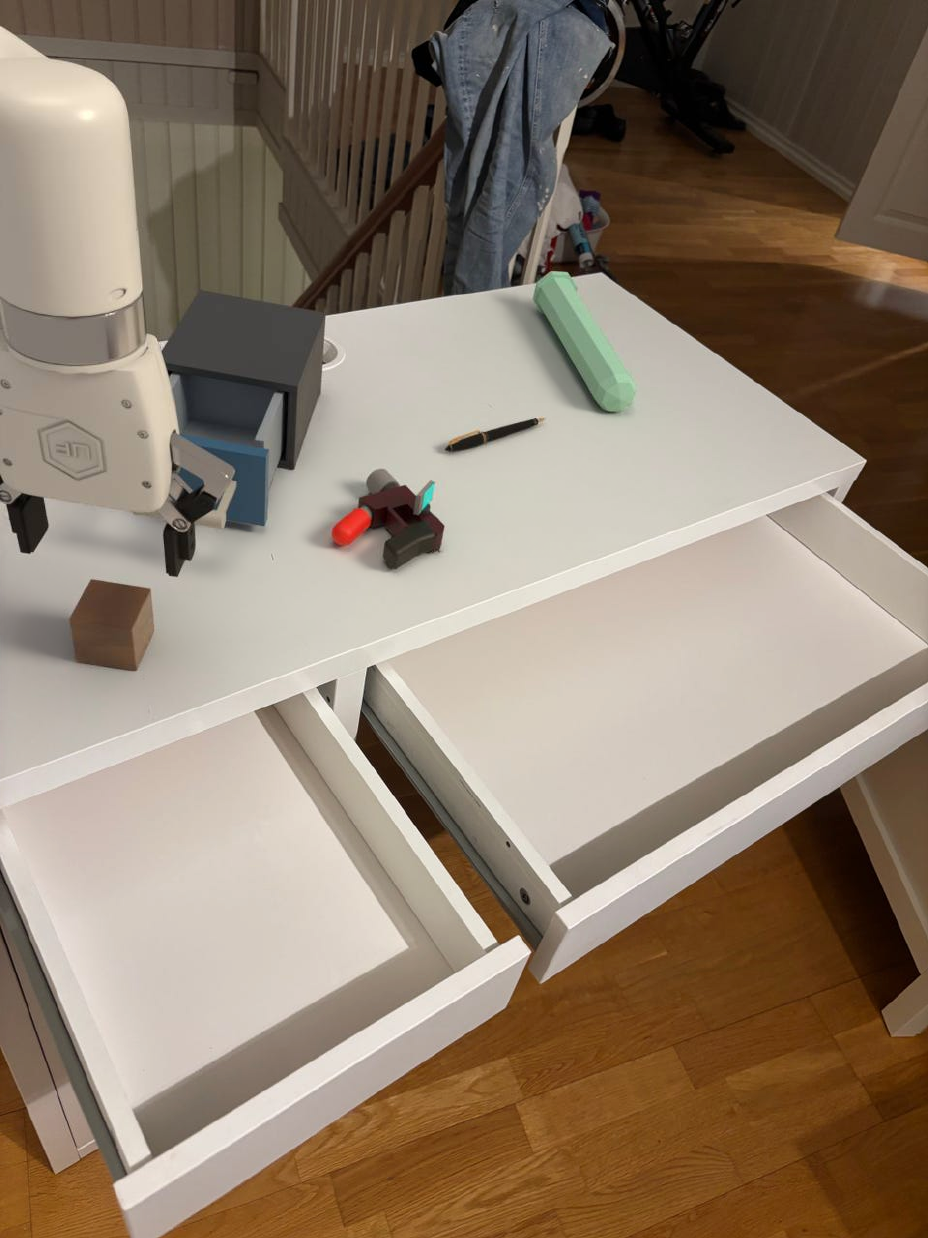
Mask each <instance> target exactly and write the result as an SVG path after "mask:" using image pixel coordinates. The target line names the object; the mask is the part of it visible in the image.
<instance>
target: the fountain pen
mask: <svg viewBox="0 0 928 1238" xmlns="http://www.w3.org/2000/svg"><path fill="white" fill-rule="evenodd" d="M546 419H547V417H539V418H536V417H534V418H530V419H525V420H522V421H519V422H514V423H511V424H507V425H503V426H500V427H496V428H493V429H489V430H487V431H480V430H479V429H477V430H474V431H471V432H469V433H466V434H463V435H461V436H457V437H455V438H453V439H451V440H450V441H449V442H448V445H446V447H445V449H444V451H447V452H451V453H452V452H459V451H464V450H467V449H472V448H475V447H479V446H482V445H486V444H487V443H489V442H492V441H495V440H498V439H502V438H505V437H507V436H511V435H513V434H516V433H519V432H521V431H525V430H527V429H530V428H533V427H535V426H538V425H539V423H542V422H544V421H545V420H546Z"/></svg>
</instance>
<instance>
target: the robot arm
mask: <svg viewBox="0 0 928 1238" xmlns="http://www.w3.org/2000/svg"><path fill="white" fill-rule="evenodd" d="M133 165H134V164H133V154H132V141H131V128H130V119H129V113H128V109H127V105H126V101H125V99H124V97H123V95H122V93H121V91H120V90H119V88H118V87H117V86H116V85H115V83H113V81H111V80H110V79H109V78H108V77H106V76H105V75H104V74H103V73H100V72H99V71H97V70H94V69H92V68H90V67H88V66H84V65H81V64H78V63H74V62H71V61H66V60H62V59H56V58H49V57H47V56H46V55H44V54H43V53H42V52H39V50H37V49H35V48H34V47H32V46H31V45H29V44H28V43H27V42H25V41H24V40H23V39H21V38H19V37H18V36H16V34H14V33H13V32H11V31H9V30H8V29H6V28H5V27H3V26H1V25H0V503H1V504H5V506H6V510H7V516H8V520H9V524H10V528H11V533H13V534H16V538H17V539H16V540H17V543H18V547H19V552H20V553H21V554H27V555H30V554H31V553H34V552H35V551H36V549H37V547H38V546H39V545H40V542H42V540H43V538H44V536H45V535H46V533H47V532H48V530H49V528H50V526H49V525H50V524H49V519H48V518H49V517H48V512H47V508H46V503H45V499H50V500H51V499H52V500H57V501H63V502H69V503H75V504H82V505H87V506H88V505H89V506H93V507H100V508H106V509H113V510H119V511H125V512H133V513H134V512H152V511H157V512H158V513H159V514H160V515H161V516H162V517H163V518H164V519H163V520H164V521H165V522H166V524H165V526H164V528H163V531H162V539H163V540H162V541H163V551H164V552H163V553H164V563H165V573H166V574H168V576H169V577H172V578H173V577H174V578H178V577H179V575H180V572H181V570H182V569H183V566H184V563H185V561H188V562H191V561H192V560H193V557H194V556H195V552H196V541H197V539H196V526H195V521H197V520H198V519H200V518H201V517H203V516H204V515H206V514H208V513H209V512H211V511H212V510H213V509H214V506H215V505H216V503H217V502H218V500H219V499H220V498H221V497H222V495H223V494H224V492H225V491H226V489H227V488H228V486H229V485H230V482H231V480H232V478H233V475H234V473H235V470H234V468H233V467H232V466H231V465H230V464H228V463H226V462H225V461H223V460H221V459H220V458H218V457H216V456H214V455H213V454H211V453H209V452H208V451H206V450H204V449H203V448H201V447H199V446H197V445H196V444H194V443H192V442H191V441H189V440H187V439H186V438H184V437H182V436H180V435H179V428H178V421H177V415H176V408H175V403H174V398H173V393H172V388H171V384H170V380H169V376H168V372H167V369H166V365H165V362H164V359H163V355H162V352H161V351H162V349H161V347H160V343H159V341H158V339H157V337H156V336H155V335H153V334H150V333H148V331H147V320H146V308H145V297H144V296H145V295H144V285H143V274H142V273H143V272H142V263H141V262H142V261H141V260H142V259H141V250H140V238H139V236H140V235H139V224H138V216H137V213H138V212H137V201H136V189H135V180H134V179H135V177H134V166H133ZM181 467H182V468H183V469H185V470H187V471H189V472H190V473H192V474H194V475H195V476H197V477H199V478H201V479H202V480H203V482H204V484H203V485H201V486H200V487H198V488H197V489H195V490H194V491H193V490H192V489H191V488H190V487H189V486H188V485H187V484H186V483H185V482H184V481H183V480H182V478H181V477H180V476H179V475H178V473H179V471H180V468H181ZM169 494H170V495H171V496H172V497H173V498H174V499H175V500H176V501H177V502H175V501H174V500H173V499H172V498H171V497H170V496H169Z"/></svg>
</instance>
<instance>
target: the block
mask: <svg viewBox="0 0 928 1238" xmlns="http://www.w3.org/2000/svg"><path fill="white" fill-rule="evenodd" d="M68 622H69V627H70V633H71V638H72V645H73V650H74V656H75V661H76V663H83V664H89V665H94V666H102V667H108V668H114V669H120V670H127V671H132V672H133V671H134V672H137V670H138V668H139V666H140V665H141V662H142V659H143V657H144V655H145V653H146V650H147V648H148V646H149V643H150V641H151V639H152V637H153V635H154V632H155V624H154V611H153V600H152V589H151V588H149V587H143V586H137V585H131V584H124V583H119V582H113V581H106V580H100V579H94V578H91V579H90V580H89V582H88V584H87V585H86V587H85V589H84V591H83V593H82V595H81V596H80V598H79V600H78V602H77V603H76V605H75V608H74V609H73V611H72V612H71V615H70V617H69V619H68Z"/></svg>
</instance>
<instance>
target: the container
mask: <svg viewBox="0 0 928 1238" xmlns="http://www.w3.org/2000/svg"><path fill="white" fill-rule="evenodd" d="M578 289H579V287H578V285H577V284H576V282H575V281H574V280H573V278H572V276H571V275H570V274H569V272H568V271H554V270H551V271H549V272H548V273H547V274H545V275H544V276H543V277H541V278H540V279H539V280H537V281H536V282H535V287H534V291H533V295H532V301H533V303H534V304H535V305H536V307H537V308H538V310H539V311H540V312H541V314H542V315H545V317H546V318H547V320H548V322H549V323H550V325H551V327H552V328H553V330H554V331H555V334H556V335H557V337H558V339H559V340H560V342H561V344H562V345H563V347H564V349H565V350H566V352H567V354H568V356H569V357H570V359H571V361H572V363H573V364H574V366H575V368H576V370H577V371H578V374H580V376H581V378H582V380H583V381H584V383H585V385H586V386H587V388H588V391H589V392H590V393H591V395H592V397H593V399H594V400H595V401H596V403H597V404H598V406H599V407H600V408H601V409H602V410H603V411H606V412H622V411H624V410H625V409H626V408H628V407H629V406H631V405H632V404H633V403H634V399H635V397H636V393H637V389H638V388H637V386H638V385H637V383H636V381H635V380H634V378H633V377H632V375H631V374H630V372H629V370H628V369H627V367H626V366H625V364H624V363H623V362H622V359H621V358H620V357H619V355H618V354H617V352H616V351H615V349H614V347H613V345H612V344H611V343H610V341H609V340H608V338H607V337H606V335H605V333H604V332H603V330H602V329H601V327H600V326H599V324H598V323H597V321H596V320H595V318H594V317H593V315H592V314H591V312H590V311H589V309H588V307H587V306H586V304H585V303H584V300H582V298H581V296H580V295H579V294H578Z"/></svg>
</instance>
